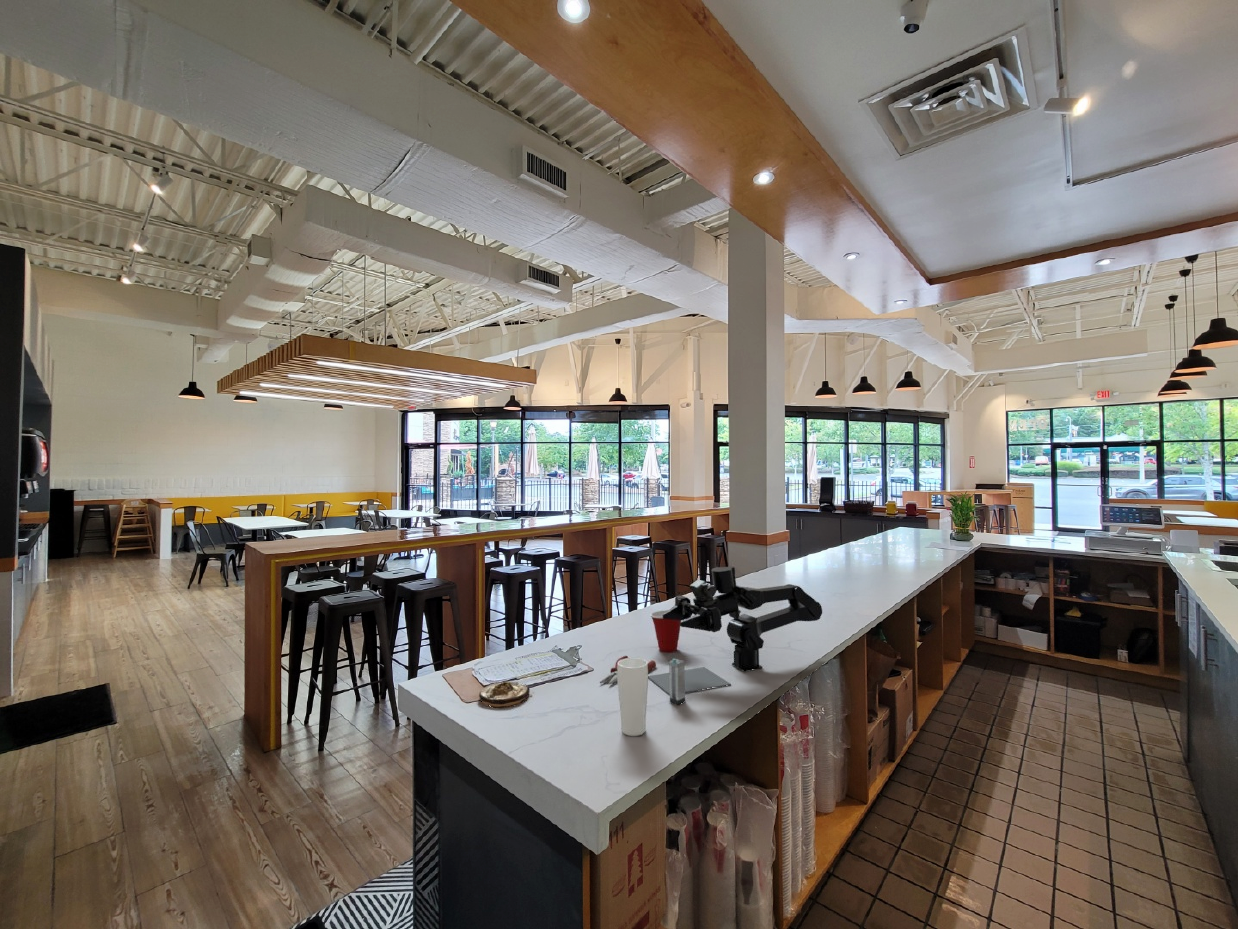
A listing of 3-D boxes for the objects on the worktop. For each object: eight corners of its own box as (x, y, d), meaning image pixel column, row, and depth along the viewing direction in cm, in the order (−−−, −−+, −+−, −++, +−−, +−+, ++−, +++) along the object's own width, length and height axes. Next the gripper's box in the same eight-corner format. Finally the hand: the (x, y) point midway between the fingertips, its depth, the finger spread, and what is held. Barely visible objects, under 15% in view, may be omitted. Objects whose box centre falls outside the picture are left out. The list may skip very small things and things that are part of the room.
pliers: (586, 684, 147) (586, 674, 148) (624, 662, 165) (624, 653, 165) (622, 692, 141) (622, 682, 142) (657, 668, 159) (657, 659, 159)
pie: (509, 716, 128) (509, 698, 128) (462, 705, 135) (461, 688, 135) (545, 693, 141) (545, 677, 141) (500, 685, 148) (500, 669, 148)
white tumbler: (616, 725, 121) (615, 658, 122) (646, 723, 122) (645, 656, 122) (619, 740, 115) (618, 668, 115) (651, 738, 115) (649, 667, 116)
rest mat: (704, 668, 157) (704, 667, 157) (730, 685, 144) (730, 683, 144) (647, 677, 150) (647, 676, 150) (670, 696, 137) (670, 694, 137)
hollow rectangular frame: (676, 699, 135) (676, 655, 136) (685, 702, 134) (684, 657, 134) (669, 702, 133) (669, 658, 134) (678, 705, 132) (677, 660, 132)
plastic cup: (661, 642, 182) (661, 606, 182) (690, 647, 176) (689, 610, 176) (644, 651, 173) (643, 613, 174) (673, 657, 167) (672, 618, 167)
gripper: (695, 573, 162) (650, 585, 155) (734, 584, 145) (686, 598, 138) (700, 610, 162) (655, 623, 155) (740, 624, 145) (691, 640, 138)
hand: (671, 620), depth 147 cm, fingers open, 9 cm apart
